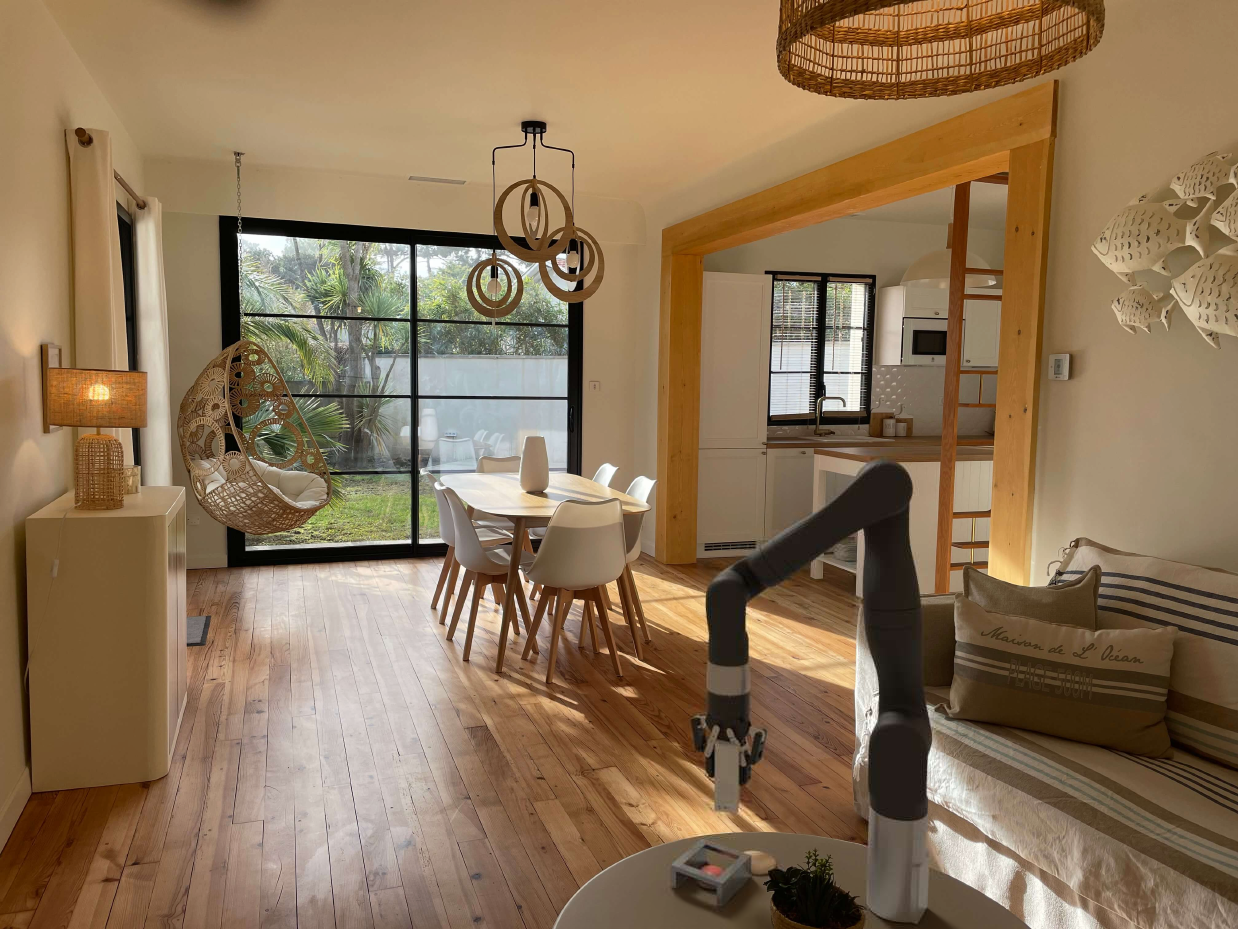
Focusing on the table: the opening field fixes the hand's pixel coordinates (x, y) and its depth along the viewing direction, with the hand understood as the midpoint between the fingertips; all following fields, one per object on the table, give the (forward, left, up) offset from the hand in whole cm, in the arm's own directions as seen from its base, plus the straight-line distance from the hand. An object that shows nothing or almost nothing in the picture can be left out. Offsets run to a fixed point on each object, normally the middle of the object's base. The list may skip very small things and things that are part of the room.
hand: (727, 780), depth 153 cm
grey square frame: (+2, +3, -18) cm, 18 cm away
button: (+2, +3, -18) cm, 18 cm away
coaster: (-2, -7, -18) cm, 20 cm away
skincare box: (0, 0, -5) cm, 5 cm away
